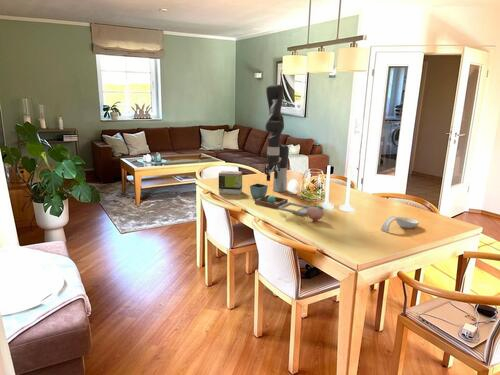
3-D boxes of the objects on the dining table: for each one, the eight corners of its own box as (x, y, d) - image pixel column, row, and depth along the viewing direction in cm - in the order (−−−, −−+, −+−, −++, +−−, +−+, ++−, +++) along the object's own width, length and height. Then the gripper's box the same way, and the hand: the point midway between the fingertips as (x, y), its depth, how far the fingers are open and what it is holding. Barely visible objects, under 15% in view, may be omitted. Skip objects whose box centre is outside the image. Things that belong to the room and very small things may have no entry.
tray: (289, 204, 234) (289, 202, 233) (315, 210, 224) (315, 207, 223) (277, 210, 223) (277, 207, 222) (304, 216, 213) (304, 213, 212)
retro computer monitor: (242, 191, 262) (242, 171, 259) (239, 195, 253) (239, 174, 249) (221, 190, 265) (221, 169, 261) (218, 193, 255) (218, 172, 252)
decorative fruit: (323, 219, 208) (325, 202, 206) (322, 224, 201) (323, 206, 198) (307, 217, 211) (308, 200, 208) (305, 222, 203) (306, 204, 201)
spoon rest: (403, 221, 209) (405, 209, 207) (422, 228, 199) (424, 215, 197) (375, 228, 197) (376, 216, 195) (393, 236, 187) (395, 222, 185)
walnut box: (267, 199, 243) (268, 195, 243) (287, 204, 235) (287, 199, 234) (254, 205, 232) (254, 200, 231) (275, 209, 223) (275, 204, 222)
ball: (270, 201, 237) (270, 194, 235) (276, 203, 234) (277, 195, 232) (265, 203, 233) (266, 195, 231) (272, 205, 230) (272, 197, 229)
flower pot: (259, 201, 240) (260, 187, 238) (249, 198, 245) (249, 185, 243) (267, 198, 247) (268, 185, 245) (257, 196, 252) (257, 183, 250)
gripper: (274, 151, 233) (273, 176, 237) (261, 154, 222) (260, 180, 226) (284, 153, 229) (283, 178, 233) (272, 156, 218) (270, 182, 222)
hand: (272, 179), depth 229 cm, fingers open, 8 cm apart
